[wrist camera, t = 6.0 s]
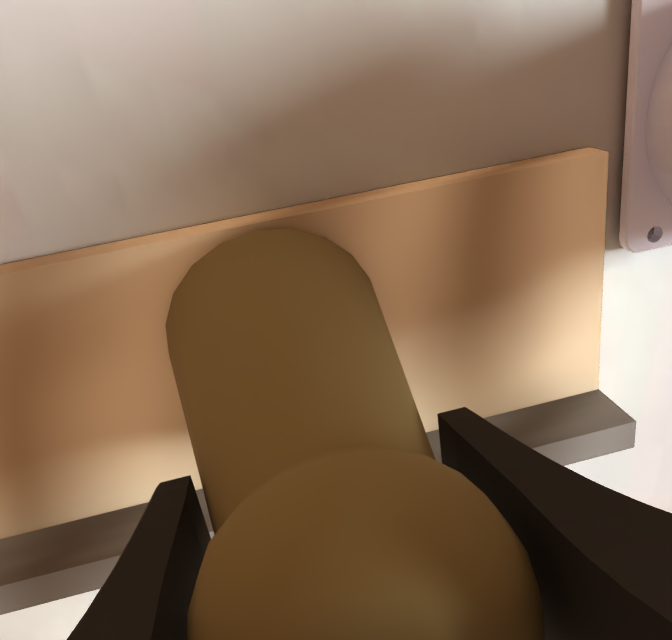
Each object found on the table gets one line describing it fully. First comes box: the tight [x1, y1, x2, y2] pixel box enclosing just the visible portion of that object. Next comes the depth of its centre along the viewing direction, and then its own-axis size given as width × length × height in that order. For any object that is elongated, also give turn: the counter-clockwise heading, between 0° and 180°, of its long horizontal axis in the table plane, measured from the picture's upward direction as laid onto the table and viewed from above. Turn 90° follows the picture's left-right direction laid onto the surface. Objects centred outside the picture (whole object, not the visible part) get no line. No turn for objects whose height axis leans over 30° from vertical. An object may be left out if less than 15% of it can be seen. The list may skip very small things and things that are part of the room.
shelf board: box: [0, 147, 636, 615], centre depth 17 cm, size 20×9×3 cm, turn 99°
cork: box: [165, 228, 544, 640], centre depth 12 cm, size 6×6×11 cm
